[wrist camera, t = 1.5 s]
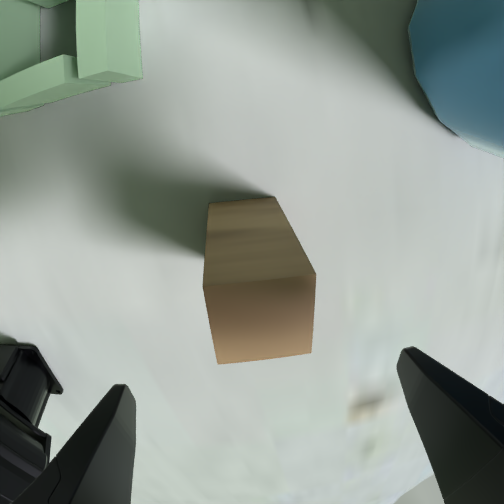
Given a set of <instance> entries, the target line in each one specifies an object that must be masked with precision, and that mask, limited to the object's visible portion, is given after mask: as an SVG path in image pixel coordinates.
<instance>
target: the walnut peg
mask: <svg viewBox="0 0 504 504" xmlns="http://www.w3.org/2000/svg"><path fill="white" fill-rule="evenodd" d="M315 287H316V273H315V271H314V269H313V267H312V265H311V263H310V261H309V259H308V257H307V255H306V254H305V252H304V250H303V248H302V246H301V244H300V242H299V240H298V238H297V236H296V235H295V233H294V231H293V229H292V227H291V225H290V223H289V222H288V220H287V218H286V216H285V214H284V212H283V210H282V209H281V207H280V205H279V203H278V201H277V199H276V198H275V197H268V198H257V199H246V200H236V201H226V202H216V203H209V209H208V220H207V232H206V245H205V259H204V274H203V291H204V297H205V302H206V308H207V313H208V318H209V324H210V329H211V334H212V339H213V344H214V349H215V354H216V359H217V363H218V364H228V363H238V362H248V361H257V360H265V359H273V358H280V357H288V356H295V355H301V354H308V353H311V349H312V336H313V322H314V306H315Z"/></svg>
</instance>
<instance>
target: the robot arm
mask: <svg viewBox="0 0 504 504" xmlns="http://www.w3.org/2000/svg"><path fill="white" fill-rule="evenodd" d="M397 372H398V376H399V379H400V382H401V385H402V388H403V392H404V395H405V399H406V402H407V405H408V408H409V410H410V413H411V415H412V418H413V420H414V423H415V425H416V427H417V430H418V432H419V435H420V437H421V440H422V442H423V445H424V448H425V450H426V453H427V455H428V458H429V461H430V463H431V466H432V469H433V471H434V474H435V477H436V479H437V482H438V485H439V488H440V491H441V494H442V497H443V499H444V503H445V504H504V404H502V403H501V402H499V401H497V400H496V399H494V398H493V397H491V396H488V394H487V393H485V392H484V391H482V390H480V389H479V388H477V387H476V386H474V385H473V384H471V383H470V382H468V381H467V380H465V379H464V378H462V377H461V376H459V375H457V374H456V373H454V372H453V371H451V370H450V369H448V368H447V367H445V366H444V365H442V364H441V363H439V362H437V361H436V360H434V359H433V358H431V357H430V356H428V355H427V354H425V353H424V352H422V351H420V350H419V349H417V348H416V347H413V346H411V347H407V348H404V349H403V350H402V351H401V354H400V357H399V360H398V363H397ZM62 393H63V388H62V387H61V385H60V384H59V382H58V381H57V379H56V378H55V376H54V375H53V373H52V372H51V370H50V368H49V367H48V365H47V364H46V362H45V360H44V359H43V357H42V355H41V354H40V352H39V350H38V349H37V348H36V347H34V346H18V345H1V344H0V504H131V490H132V478H133V467H134V457H135V447H136V401H135V398H134V396H133V395H132V393H131V391H130V389H129V387H128V386H127V385H126V384H115V385H113V386H112V388H111V389H110V390H109V391H108V392H107V394H106V395H105V396H104V397H103V398H102V400H101V401H100V402H99V403H98V405H97V406H96V407H95V408H94V409H93V411H92V412H91V413H90V414H89V415H88V417H87V418H86V419H85V420H84V422H83V423H82V424H81V425H80V426H79V428H78V429H77V430H76V431H75V433H74V434H73V435H72V436H71V437H70V439H69V440H68V441H67V442H66V444H65V445H64V446H63V447H62V449H61V450H60V451H59V452H58V454H57V455H56V457H54V458H53V460H52V461H51V462H50V463H49V460H50V447H51V436H50V435H49V434H47V433H44V432H43V431H41V430H40V429H39V428H38V426H39V423H40V420H41V417H42V415H43V412H44V409H45V406H46V404H47V401H48V398H49V396H50V394H62Z"/></svg>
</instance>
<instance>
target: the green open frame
mask: <svg viewBox="0 0 504 504" xmlns="http://www.w3.org/2000/svg"><path fill="white" fill-rule="evenodd" d="M66 1H69V0H0V116H5V115H10V114H15V113H20V112H26V111H30V110H32V109H35V108H38V107H41V106H44V103H52V102H55V101H58V100H61V99H64V98H68V97H71V96H74V95H78V94H81V93H85V92H88V91H92V90H95V89H99V88H103V87H107V86H111V82H117V83H124V82H129V81H133V80H138V79H143V74H142V61H141V47H140V30H139V4H138V0H76V45H77V57H74V56H69V55H64V54H63V55H60V56H57V57H54V58H52V59H49V60H47V61H44V62H42V63H40V6H43V7H45V8H48V9H49V8H51V7H54V6H56V5H59V4H61V3H64V2H66Z"/></svg>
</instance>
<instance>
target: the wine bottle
mask: <svg viewBox="0 0 504 504" xmlns="http://www.w3.org/2000/svg"><path fill="white" fill-rule="evenodd" d="M407 30H408V35H409V41H410V48H411V54H412V61H413V69H414V76H415V77H416V79H417V81H418V83H419V85H420V86H421V88H422V90H423V92H424V94H425V96H426V97H427V99H428V101H429V103H430V105H431V107H432V109H433V111H434V113H435V115H436V117H437V118H438V119H439V120H440V121H441V123H443V124H444V125H445V126H447V127H448V128H449V129H451V130H452V131H453V132H454V133H456V134H457V135H458V136H459V137H461V138H462V139H463V140H464V141H465V142H467V143H468V144H469V145H470V146H471V147H474V148H477V149H480V150H482V151H485V152H488V153H491V154H493V155H496V156H499V157H501V158H504V0H417V3H416V6H415V9H414V12H413V14H412V17H411V20H410V23H409V26H408V28H407Z"/></svg>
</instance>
